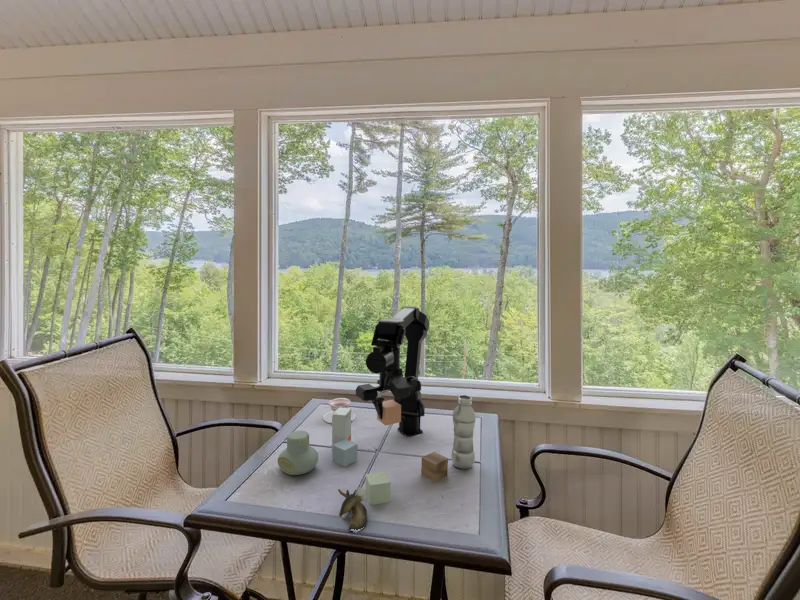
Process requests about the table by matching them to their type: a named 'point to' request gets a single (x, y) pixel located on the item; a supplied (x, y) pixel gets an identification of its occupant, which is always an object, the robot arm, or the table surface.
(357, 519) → the deer head figurine
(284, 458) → the air freshener
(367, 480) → the sage cube
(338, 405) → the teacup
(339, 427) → the skincare box
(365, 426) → the table surface
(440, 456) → the walnut cube
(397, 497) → the table surface
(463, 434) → the plastic bottle
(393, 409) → the terracotta cube
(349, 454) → the slate cube
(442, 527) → the table surface
